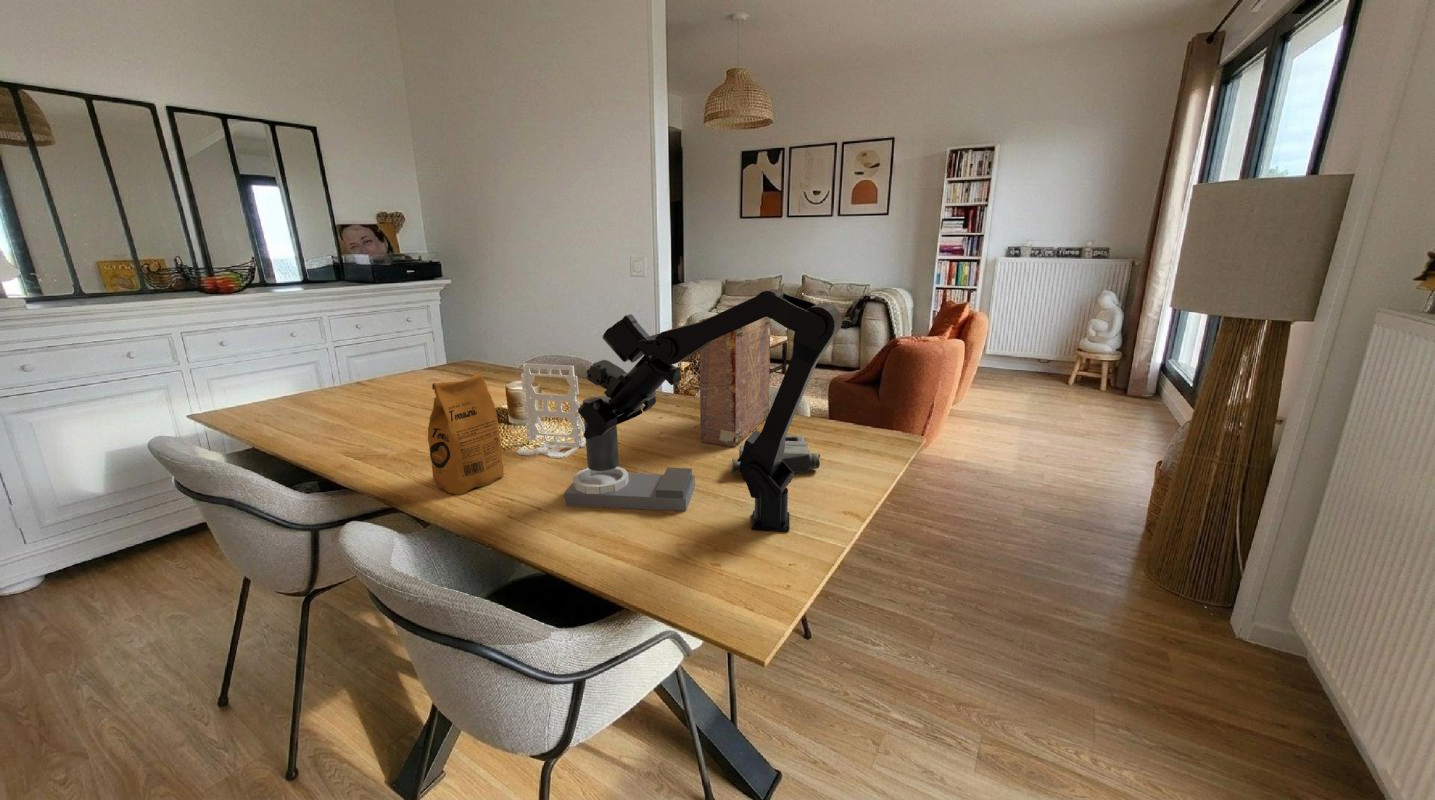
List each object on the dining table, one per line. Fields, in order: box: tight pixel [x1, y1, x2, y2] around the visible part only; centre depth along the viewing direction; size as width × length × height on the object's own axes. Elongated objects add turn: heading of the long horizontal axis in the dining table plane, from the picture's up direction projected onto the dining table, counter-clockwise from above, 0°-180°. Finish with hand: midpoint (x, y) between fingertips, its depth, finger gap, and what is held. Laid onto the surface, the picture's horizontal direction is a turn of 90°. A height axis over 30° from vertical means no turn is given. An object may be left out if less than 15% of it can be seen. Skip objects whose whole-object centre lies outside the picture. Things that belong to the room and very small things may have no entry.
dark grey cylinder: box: [582, 395, 620, 471], centre depth 109 cm, size 6×6×13 cm
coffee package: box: [427, 372, 505, 496], centre depth 114 cm, size 10×12×22 cm
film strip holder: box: [515, 363, 586, 459], centre depth 134 cm, size 14×14×20 cm
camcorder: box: [731, 434, 821, 475], centre depth 125 cm, size 16×20×5 cm
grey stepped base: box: [563, 466, 696, 512], centre depth 110 cm, size 11×23×4 cm, turn 83°
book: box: [698, 316, 772, 448], centre depth 144 cm, size 25×9×30 cm, turn 157°
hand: (595, 432), depth 109 cm, fingers closed on dark grey cylinder, 6 cm apart
